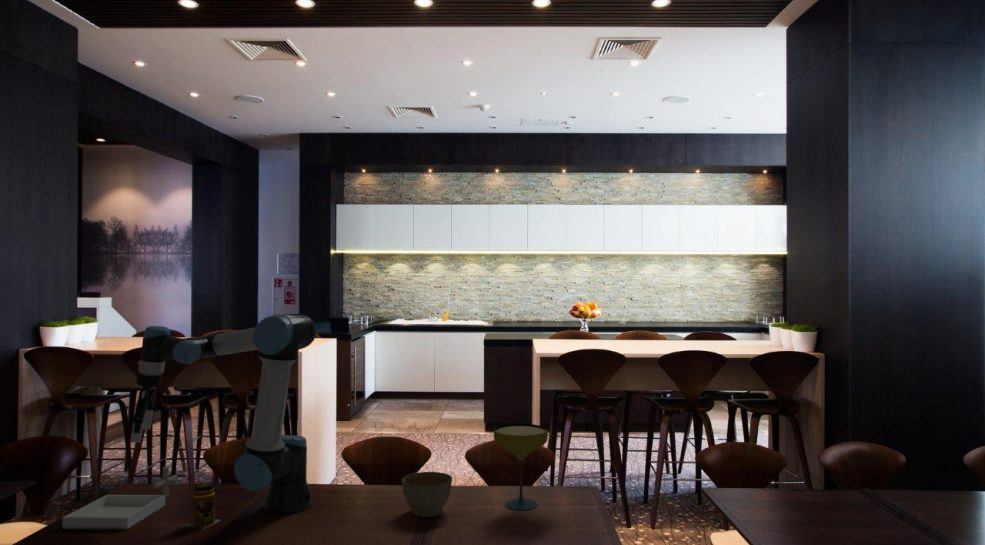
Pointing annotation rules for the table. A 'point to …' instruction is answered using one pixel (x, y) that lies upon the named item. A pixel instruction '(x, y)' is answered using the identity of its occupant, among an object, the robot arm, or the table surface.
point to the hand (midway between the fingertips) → (140, 435)
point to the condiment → (204, 505)
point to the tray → (114, 512)
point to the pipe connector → (165, 481)
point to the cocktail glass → (520, 452)
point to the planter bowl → (426, 492)
